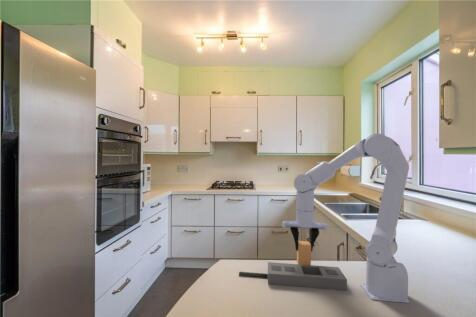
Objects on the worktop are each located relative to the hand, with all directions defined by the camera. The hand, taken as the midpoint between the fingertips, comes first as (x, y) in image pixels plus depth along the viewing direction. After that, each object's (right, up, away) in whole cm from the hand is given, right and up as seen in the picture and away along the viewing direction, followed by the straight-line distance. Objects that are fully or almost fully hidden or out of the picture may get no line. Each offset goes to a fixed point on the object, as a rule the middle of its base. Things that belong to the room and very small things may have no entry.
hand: (303, 250), depth 83 cm
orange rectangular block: (0, -5, 0) cm, 5 cm away
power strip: (-7, -6, -8) cm, 12 cm away
